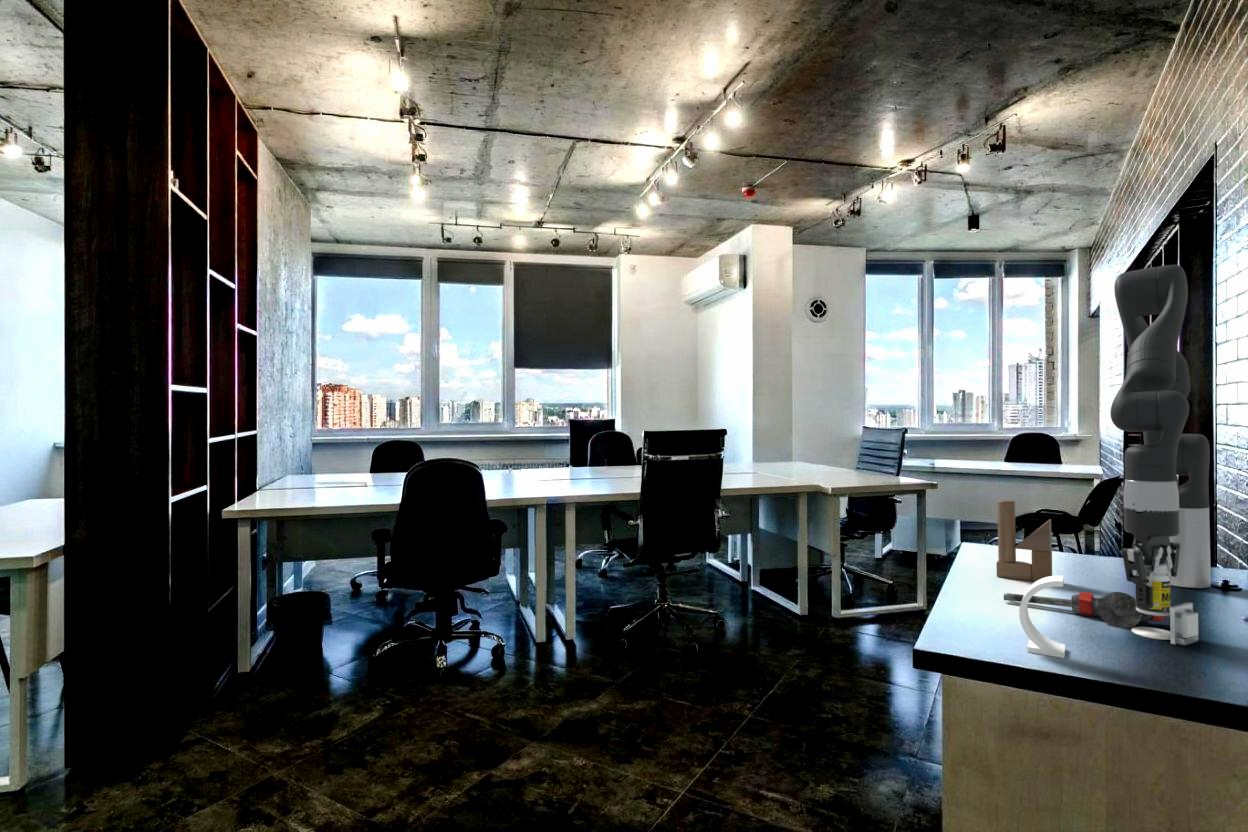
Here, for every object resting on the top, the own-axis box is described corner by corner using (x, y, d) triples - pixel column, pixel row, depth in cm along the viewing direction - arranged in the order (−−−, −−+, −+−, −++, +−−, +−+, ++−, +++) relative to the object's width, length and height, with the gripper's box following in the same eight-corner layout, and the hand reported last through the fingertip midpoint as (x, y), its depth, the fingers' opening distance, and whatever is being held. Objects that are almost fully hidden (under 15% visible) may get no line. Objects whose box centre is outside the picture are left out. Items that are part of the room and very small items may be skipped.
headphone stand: (1064, 658, 104) (1062, 581, 104) (1019, 650, 107) (1018, 576, 107) (1065, 649, 108) (1064, 575, 108) (1022, 642, 111) (1020, 571, 111)
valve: (1173, 626, 125) (1167, 634, 114) (1017, 608, 142) (998, 613, 131) (1171, 592, 126) (1164, 596, 115) (1016, 577, 143) (997, 580, 132)
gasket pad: (1142, 626, 118) (1142, 624, 118) (1183, 636, 113) (1183, 634, 113) (1124, 631, 116) (1124, 630, 116) (1164, 641, 110) (1164, 640, 110)
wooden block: (1050, 583, 149) (1048, 503, 149) (996, 577, 156) (994, 500, 156) (1052, 580, 152) (1051, 502, 152) (999, 574, 159) (998, 499, 159)
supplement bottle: (1167, 618, 111) (1166, 568, 111) (1132, 612, 115) (1131, 563, 115) (1173, 612, 114) (1172, 563, 114) (1139, 607, 118) (1138, 559, 118)
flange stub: (1189, 637, 112) (1188, 602, 112) (1202, 640, 111) (1201, 604, 111) (1170, 643, 110) (1169, 607, 110) (1183, 646, 108) (1182, 609, 108)
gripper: (1147, 501, 121) (1149, 594, 121) (1103, 506, 115) (1105, 605, 114) (1198, 505, 114) (1200, 604, 114) (1154, 512, 108) (1156, 616, 108)
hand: (1152, 604), depth 114 cm, fingers closed on supplement bottle, 4 cm apart
